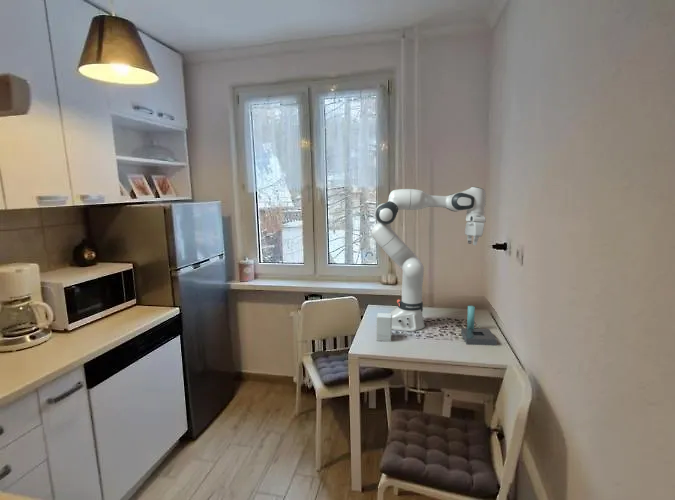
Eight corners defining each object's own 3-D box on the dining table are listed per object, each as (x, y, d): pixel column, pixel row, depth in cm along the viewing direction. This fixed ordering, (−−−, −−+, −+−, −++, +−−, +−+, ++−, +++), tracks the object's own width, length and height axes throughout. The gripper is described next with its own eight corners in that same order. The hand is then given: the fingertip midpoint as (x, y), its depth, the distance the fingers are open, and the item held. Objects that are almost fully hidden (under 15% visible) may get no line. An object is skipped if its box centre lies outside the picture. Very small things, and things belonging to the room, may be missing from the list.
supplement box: (391, 341, 189) (391, 317, 187) (376, 341, 191) (376, 317, 189) (391, 336, 196) (391, 313, 194) (377, 335, 198) (377, 312, 196)
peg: (467, 331, 202) (468, 307, 200) (466, 328, 205) (467, 305, 203) (474, 331, 201) (475, 307, 199) (473, 328, 205) (474, 305, 203)
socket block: (466, 344, 184) (466, 338, 184) (461, 333, 198) (461, 328, 198) (496, 345, 183) (496, 339, 182) (488, 334, 196) (489, 329, 196)
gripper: (463, 217, 209) (460, 242, 211) (474, 217, 189) (471, 245, 190) (474, 218, 209) (472, 243, 210) (487, 218, 189) (484, 246, 190)
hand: (471, 244), depth 200 cm, fingers open, 8 cm apart
